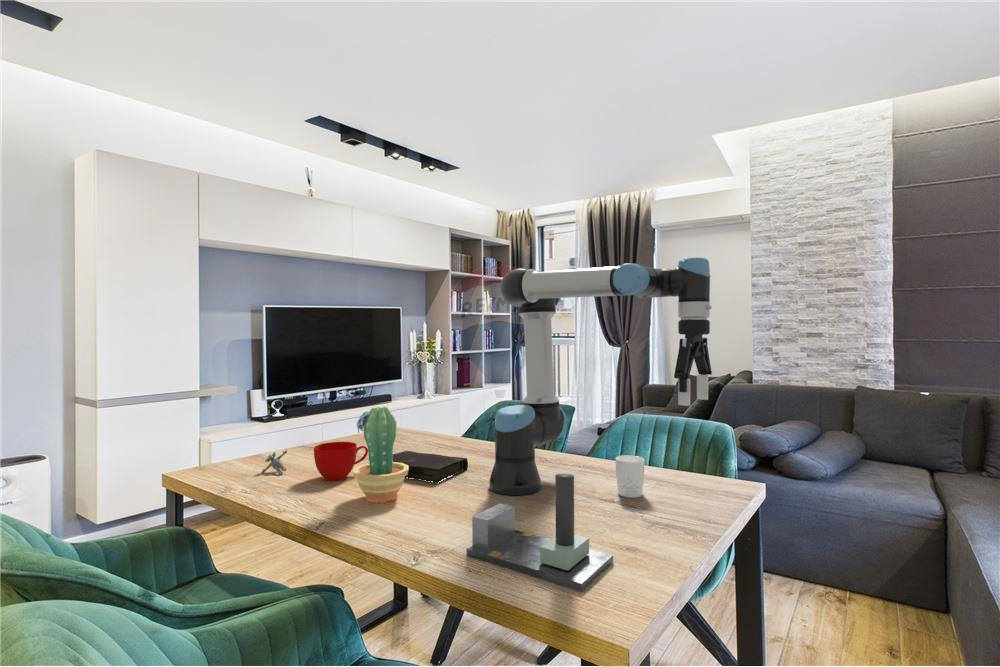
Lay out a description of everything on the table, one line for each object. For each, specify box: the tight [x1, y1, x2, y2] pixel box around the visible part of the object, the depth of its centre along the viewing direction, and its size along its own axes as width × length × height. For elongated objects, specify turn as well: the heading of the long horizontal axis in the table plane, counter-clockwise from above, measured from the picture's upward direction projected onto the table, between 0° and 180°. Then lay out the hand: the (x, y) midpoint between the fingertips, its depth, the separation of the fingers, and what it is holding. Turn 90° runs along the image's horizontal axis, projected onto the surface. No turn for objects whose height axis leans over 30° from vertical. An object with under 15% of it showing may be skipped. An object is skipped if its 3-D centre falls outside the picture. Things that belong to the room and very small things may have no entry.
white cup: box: [615, 454, 645, 499], centre depth 146 cm, size 8×8×10 cm
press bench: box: [465, 503, 614, 593], centre depth 105 cm, size 26×14×8 cm, turn 55°
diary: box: [393, 450, 469, 484], centre depth 170 cm, size 19×25×5 cm
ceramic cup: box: [313, 441, 369, 481], centre depth 165 cm, size 13×17×10 cm
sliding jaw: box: [540, 472, 590, 570], centre depth 101 cm, size 6×9×16 cm, turn 145°
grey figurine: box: [261, 450, 288, 476], centre depth 170 cm, size 10×6×9 cm
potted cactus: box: [352, 406, 409, 504], centre depth 144 cm, size 15×15×25 cm
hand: (693, 402), depth 133 cm, fingers open, 13 cm apart
